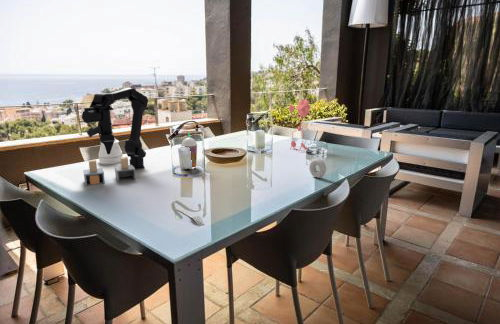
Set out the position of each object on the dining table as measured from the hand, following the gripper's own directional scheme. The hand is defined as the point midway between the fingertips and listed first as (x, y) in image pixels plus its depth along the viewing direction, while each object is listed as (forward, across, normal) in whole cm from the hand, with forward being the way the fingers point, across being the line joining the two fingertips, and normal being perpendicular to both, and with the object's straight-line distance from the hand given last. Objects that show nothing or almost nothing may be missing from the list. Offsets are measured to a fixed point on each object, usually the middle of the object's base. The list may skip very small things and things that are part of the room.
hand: (107, 152), depth 167 cm
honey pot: (+13, -33, +3) cm, 36 cm away
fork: (+13, +63, +22) cm, 68 cm away
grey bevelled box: (+13, +6, +7) cm, 15 cm away
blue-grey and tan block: (+12, +6, -7) cm, 16 cm away
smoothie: (+13, +1, +40) cm, 43 cm away
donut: (+13, +43, +94) cm, 104 cm away
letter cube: (+13, +6, -7) cm, 16 cm away
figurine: (+14, -16, +125) cm, 126 cm away
